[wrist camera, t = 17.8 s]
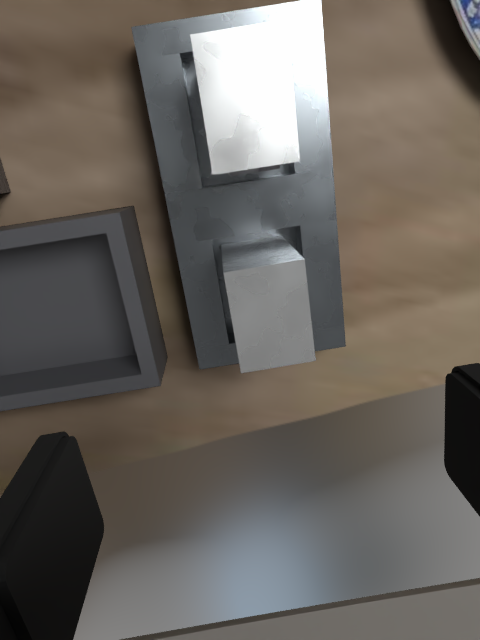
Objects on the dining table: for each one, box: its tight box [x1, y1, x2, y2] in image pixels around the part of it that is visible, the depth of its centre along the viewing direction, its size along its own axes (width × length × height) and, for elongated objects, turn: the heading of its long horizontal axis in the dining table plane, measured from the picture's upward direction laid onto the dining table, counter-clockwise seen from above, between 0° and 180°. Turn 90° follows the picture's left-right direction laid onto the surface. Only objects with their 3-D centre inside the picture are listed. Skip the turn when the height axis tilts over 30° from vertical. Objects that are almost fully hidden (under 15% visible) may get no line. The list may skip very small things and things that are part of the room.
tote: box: [0, 206, 168, 411], centre depth 28 cm, size 11×15×4 cm
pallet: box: [132, 0, 346, 369], centre depth 27 cm, size 20×10×3 cm, turn 8°
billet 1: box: [190, 19, 300, 176], centre depth 22 cm, size 6×4×8 cm
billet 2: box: [221, 235, 316, 373], centre depth 26 cm, size 6×4×8 cm
